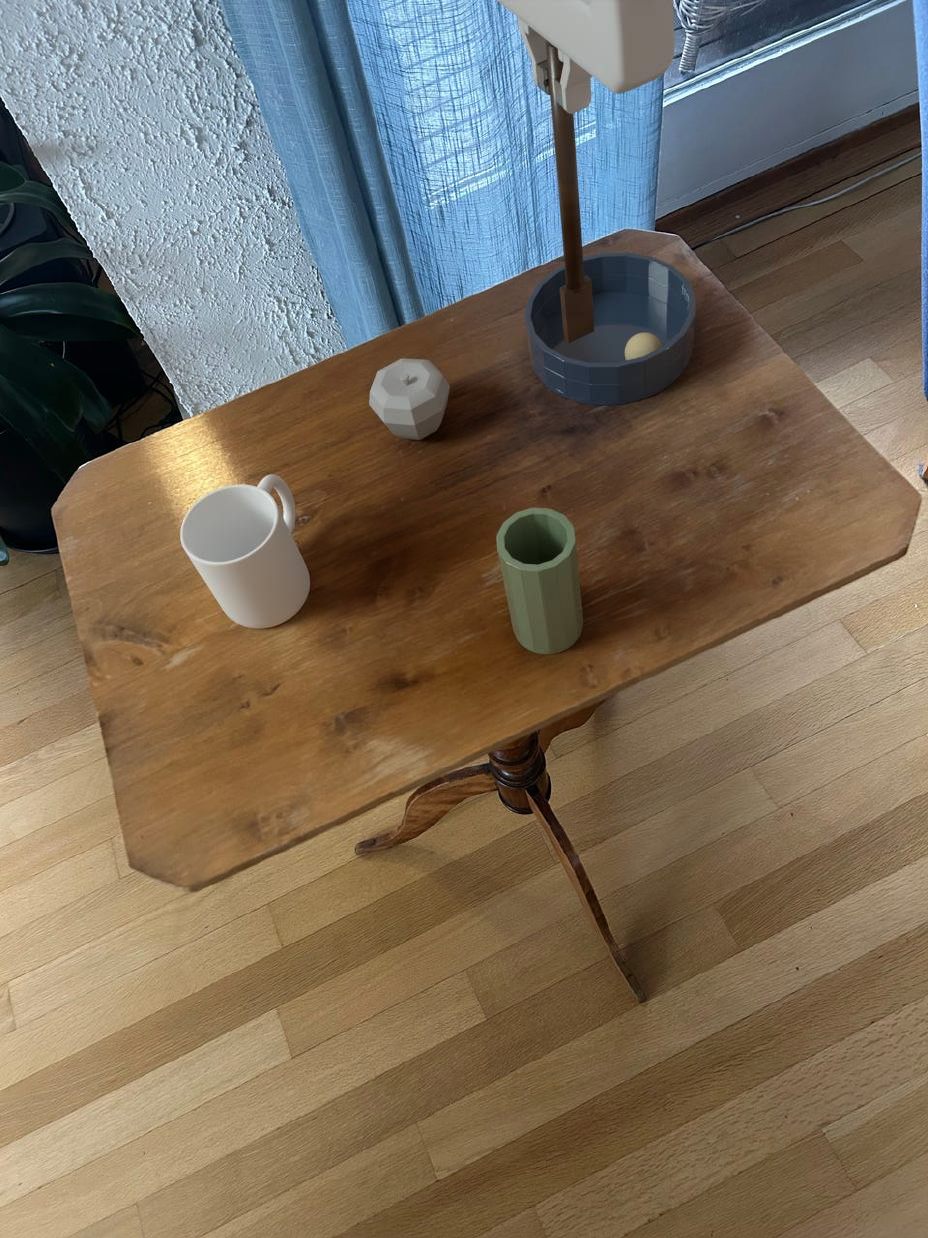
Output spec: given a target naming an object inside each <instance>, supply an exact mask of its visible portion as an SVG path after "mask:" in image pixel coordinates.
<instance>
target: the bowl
mask: <svg viewBox="0 0 928 1238" xmlns="http://www.w3.org/2000/svg"><path fill="white" fill-rule="evenodd" d="M583 264H584V276H585V275H587V276H588V277H589V278H590V279H591V281H592V298H593V315H594V332H592V333H590V334H587V335H585V336H583V337H581V338H579V339H577V340H575V341H573V342H571V343H568V342H567V341H566V340H565V339H564V332H563V321H562V310H561V299H560V287H562V286H564V285H566V277H565V265H564V264H563V265H561V266H559V267H557V268H555V269H553V270H552V271H551V272H550V273H549V274H547V275H546V276H545V277H544V278H543V279H541V280H540V281H539V282H537V284H536V286H535V287H534V289H533V291H532V292H531V294H530V296H529V297H528V298H527V301H526V305H525V306H526V307H525V313H524V325H525V332H526V340H527V341H526V343H527V348H528V354H529V358H530V363H531V366H532V369H533V371H534V373H535V375H536V376H537V378H538V379H539V380H540V382H541V383H542V384H543V385H544V386H545V387H547V388H548V389H549V390H550V391H552V392H553V393H555V394H557V395H559V396H561V397H562V398H565V399H567V400H570V401H573V402H577V403H580V404H586V405H591V406H618V405H626V404H631V403H634V402H638V401H641V400H644V399H647V398H650V397H652V396H654V395H656V394H658V393H660V392H662V391H663V390H665V389H666V388H667V387H669V386H670V385H672V384H673V383H674V382H675V381H676V380H677V379H678V378H679V377H681V375H682V374H683V372H685V370H686V369H687V366H688V365H689V363H690V360H691V359H692V355H693V351H694V345H695V344H694V343H695V328H696V307H697V296H696V294H695V291H694V289H693V287H692V285H691V283H690V281H689V279H688V278H687V277H686V276H685V275H684V274H682V273H681V272H680V271H679V270H678V269H677V268H676V267H674V265H672V264H669V263H668V262H665V261H662V260H661V259H658V258H657V257H654V256H651V255H645V254H639V253H634V252H629V251H628V252H627V251H623V252H622V251H620V252H600V253H596V254H591V255H587V256H583ZM639 333H651V334H653V335H655V336H656V337H657V338H658V339H659V340H660V342H661V344H662V347H661V348H659V349H657V350H655V351H653V352H651V353H649V354H647V355H645V356H643V357H638V358H634V359H630V360H626V358H625V347H626V344H627V343H628V341H629V340H630V339H631V338H632V337H633V336H634V335H636V334H639Z"/></svg>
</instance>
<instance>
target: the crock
mask: <svg viewBox="0 0 928 1238" xmlns="http://www.w3.org/2000/svg"><path fill="white" fill-rule="evenodd" d="M495 538H496V539H495V540H496V551H497V557H498V561H499V566H500V570H501V571H500V572H501V576H502V581H503V586H504V591H505V597H506V600H507V601H506V602H507V606H508V610H509V616H510V622H511V626H512V631H513V633H514V636H515V638H516V640H517V641H518V643H519V644H520V645H521V646H522V647H523V648H525V649H526V650H528V651H529V652H532V653H535V654H537V655H538V654H539V655H555V654H559V653H562V652H564V651H567V650H568V649H570V648H571V647H572V646H573V645H574V644H576V642H577V641H578V640H579V639H580V636H581V634H582V633H583V628H584V615H583V605H582V604H583V603H582V597H581V596H582V594H581V592H582V591H581V583H580V581H581V580H580V571H579V561H578V549H577V539H576V529H575V526H574V525H573V523H572V522H571V521H570V520H569V518H568V517H567V516H566V515H565V514H563V513H561V512H559V511H557V510H555V509H552V508H549V507H529V508H526V509H523V510H520V511H517V512H515V513H514V514H512V515H511V516H510V517H508V518H507V519H506V520H505V521H503V523H502V524H501V526H500V528H499V529H498V532H497V534H496V537H495Z"/></svg>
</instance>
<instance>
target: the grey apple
mask: <svg viewBox="0 0 928 1238" xmlns="http://www.w3.org/2000/svg"><path fill="white" fill-rule="evenodd" d="M450 389H451V385H450V384H449V382H448V381H447V379H446V378H445V376H444V375H443V373H442V372H440V370H439V368H437V367H436V366H435V365H434V364H433V363H432V362H431V361H430V360H429V359H423V358H421V359H420V358H405V357H403V358H400V359H398V360H396V361H394V362H392V363H391V364H389V365H386V366H384V367H383V368H381V369H378V370H377V372H376V374H375V378H374V379H373V383H372V385H371V388H370V391H369V401H368V405H369V407H370V408H371V409H372V410H373V411H374V412H375V414H376V415H377V416H378V417H379V418H380V420H381V421H382V422H383V424H384V425H385V426H386V427H387V429H388V430H389V431H390V433H391V434H392V435H393V436H394V437H395V436H396V437H397V438H399V439H402V440H412V441H413V440H414V441H421V440H423V439H425V438H427V437H428V436H429V435H431V434H433V433H435V432H437V431H438V429H439V428H440V426H441V424H442V421H443V418H444V415H445V412H446V408H447V406H448V401H449V395H450Z"/></svg>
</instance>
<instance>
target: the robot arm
mask: <svg viewBox="0 0 928 1238" xmlns="http://www.w3.org/2000/svg"><path fill="white" fill-rule="evenodd" d="M495 1H496V2H498V3H499V4H500V5H502V6H503V7H504V8H505V9H506V10H508V11H509V12H510V13H512V14H513V15H514V16H515V17H516V18H517V27H518V28H517V29H518V31H519V32H520V36H521V37H522V41H523V44H524V46H525V49H526V51H527V54H528V57H529V59H530V61H531V68H532V77H533V78H532V79H533V84H534V86H535V87H537V88H538V89H540V90H541V91H542V92H543V93H545V94H546V95H547V96H550V88H549V76H548V64H547V52H546V40H547V41H549V42H550V43H551V44H552V45H554V46H555V47H556V48H557V49H558V57H559V60H560V61H562V62H564V65H563V70H562V75H561V76H559V77H557V78H555V79H554V89H555V92H556V95H555V100H556V102H557V103H558V104H559V105H560V106H561V107H562V108H563V109H564V110H565V111H567V112H568V113H570V114H573V113H574V114H576V113H577V112H580V111H582V110H585V109H586V108H588V107H589V106H590V104H591V102H592V84H591V83H592V82H591V80H592V78H594V79H595V80H597V81H598V82H599V83H600V84H601V85H603V86H604V87H606V88H607V89H608V90H610V91H611V92H612V93H614V94H616V95H621V94H624V93H627V92H631V91H633V90H635V89H638V88H640V87H642V86H644V85H646V84H648V83H651V82H652V81H654V80H656V79H658V78H660V77H662V76H663V75H665V73H666V72H667V71H668V69H669V67H670V66H671V65H672V63H673V60H674V58H675V46H676V45H675V19H674V16H675V15H674V2H673V1H674V0H495Z"/></svg>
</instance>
